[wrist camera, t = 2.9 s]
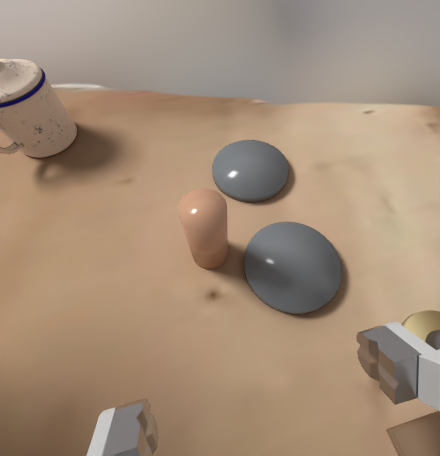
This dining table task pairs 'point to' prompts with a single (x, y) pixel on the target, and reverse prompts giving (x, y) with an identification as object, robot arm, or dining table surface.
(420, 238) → the dining table surface
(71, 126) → the teacup with lid
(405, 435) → the balance
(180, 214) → the peach shift knob
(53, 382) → the dining table surface
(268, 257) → the dish
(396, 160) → the dining table surface
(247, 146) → the dish
